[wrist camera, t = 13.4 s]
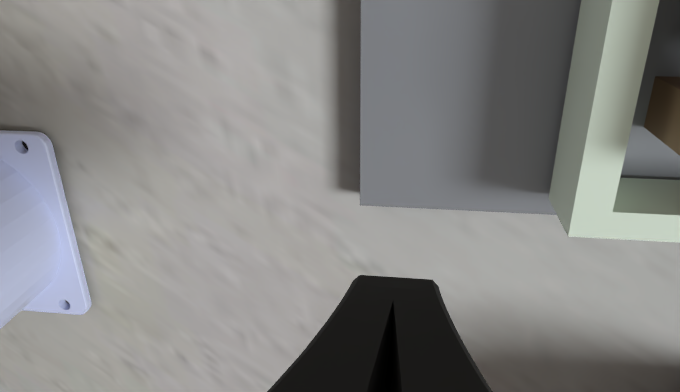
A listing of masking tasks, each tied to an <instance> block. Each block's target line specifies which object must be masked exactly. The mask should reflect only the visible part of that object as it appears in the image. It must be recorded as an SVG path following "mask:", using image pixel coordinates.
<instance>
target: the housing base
mask: <svg viewBox="0 0 680 392" xmlns="http://www.w3.org/2000/svg"><path fill="white" fill-rule="evenodd" d="M580 5H581V0H361V77H360V205H365V206H386V207H407V208H427V209H448V210H469V211H489V212H510V213H531V214H551V215H557V214H556V212H555V210H554V208H553V206H552V204H551V202H550V200H549V193H550V187H551V181H552V175H553V169H554V163H555V157H556V151H557V144H558V138H559V132H560V126H561V120H562V114H563V108H564V102H565V96H566V90H567V84H568V78H569V72H570V66H571V60H572V53H573V47H574V41H575V35H576V29H577V23H578V17H579V11H580ZM655 76H665V77H680V0H659V5H658V9H657V14H656V18H655V23H654V27H653V32H652V36H651V41H650V45H649V50H648V54H647V59H646V63H645V68H644V72H643V77H642V81H641V86H640V90H639V95H638V99H637V104H636V108H635V113H634V117H633V122H632V126H631V131H630V135H629V140H628V144H627V149H626V153H625V158H624V162H623V167H622V171H621V176H620V178H640V179H665V180H680V155H678V154H677V153H676V152H674V151H673V150H672V149H671V148H669V147H668V146H667V145H666V144H664V143H663V142H662V141H661V140H659V139H658V138H657V137H656V136H654V135H653V134H652V133H651V132H649V131H648V130H647V129H646V128H644V123H645V119H646V114H647V110H648V106H649V101H650V97H651V92H652V88H653V84H654V79H655Z"/></svg>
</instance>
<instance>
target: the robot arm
mask: <svg viewBox="0 0 680 392" xmlns="http://www.w3.org/2000/svg"><path fill="white" fill-rule="evenodd" d="M22 141H24V142H25V143H26V144H27V146H28V150H27V149H26V148H25V147H24V146H23V144H22ZM65 300H66V301H68V302H69V304H68V303H67V302H66V301H65ZM90 307H91V298H90V294H89V290H88V286H87V282H86V278H85V274H84V270H83V266H82V262H81V258H80V254H79V250H78V246H77V242H76V238H75V234H74V230H73V226H72V222H71V218H70V214H69V209H68V205H67V201H66V197H65V193H64V189H63V185H62V181H61V177H60V173H59V169H58V165H57V161H56V157H55V153H54V149H53V145H52V143H51V140H50V139H49V138H48V137H47V136H46V135H45V134H43V133H41V132H35V131H5V130H0V329H1V328H2V327H3V326H4V325H5V324H6V323H8V322H9V321H10V320H11V319H12V318H13V317H14V316H15V315H16V314H18V313H19V312H20V311H21V310H25V311H38V312H50V313H63V314H75V315H82V314H84V313H86V312H87V311H88V310H89V309H90ZM267 392H492V391H491V389H490V387H489V386H488V384H487V383H486V381H485V379H484V378H483V376H482V375H481V373H480V371H479V370H478V368H477V366H476V364H475V363H474V361H473V359H472V357H471V356H470V354H469V352H468V350H467V349H466V347H465V345H464V343H463V342H462V340H461V338H460V336H459V334H458V332H457V330H456V328H455V326H454V324H453V322H452V320H451V318H450V316H449V313H448V311H447V309H446V307H445V304H444V302H443V299H442V297H441V294H440V291H439V287H438V285H437V284H436V283H435V282H434V281H433V280H427V279H412V278H396V277H381V276H366V275H360V276H358V277H357V278H356V279H354V280H353V282H352V284H351V286H350V287H349V289H348V291H347V292H346V294H345V296H344V297H343V299H342V300H341V302H340V303H339V305H338V306H337V308H336V309H335V311H334V312H333V313H332V315H331V316H330V318H329V319H328V321H327V322H326V323H325V324H324V326H323V327H322V328H321V330H320V331H319V332H318V333H317V335H316V336H315V337H314V339H313V340H312V341H311V342H310V344H309V345H308V346H307V348H306V349H305V350H304V351H303V352H302V354H301V355H300V356H299V357H298V358H297V359H296V360H295V362H294V363H293V364H292V365H291V366H290V367H289V368H288V369H287V370H286V372H285V373H284V374H283V375H282V376H281V377H280V378H279V379H278V381H277V382H276V383H275V384H274V385H273V386H272V387H271V388H270V389H269V390H268V391H267Z"/></svg>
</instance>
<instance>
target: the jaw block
mask: <svg viewBox="0 0 680 392" xmlns="http://www.w3.org/2000/svg"><path fill="white" fill-rule="evenodd" d="M644 128H646V129H647V130H648V131H649V132H651V133H652V134H653V135H654V136H656V137H657V138H658V139H659V140H661V141H662V142H663V143H664V144H666V145H667V146H668V147H669V148H671V149H672V150H673V151H674V152H676V153H677V154H678V155H680V77H665V76H655V79H654V84H653V88H652V92H651V97H650V101H649V106H648V110H647V114H646V119H645V123H644Z"/></svg>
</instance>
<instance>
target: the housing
mask: <svg viewBox="0 0 680 392" xmlns="http://www.w3.org/2000/svg"><path fill="white" fill-rule="evenodd" d="M658 5H659V0H581V5H580V11H579V17H578V23H577V29H576V35H575V41H574V47H573V53H572V60H571V66H570V72H569V78H568V84H567V90H566V96H565V102H564V108H563V114H562V120H561V126H560V132H559V138H558V144H557V151H556V157H555V163H554V169H553V175H552V181H551V187H550V193H549V200H550V202H551V204H552V206H553V208H554V210H555V212H556V214H557V216H558V218H559V220H560V222H561V224H562V226H563V228H564V230H565V231H566V233H567V235H568V237H586V238H605V239H624V240H642V241H661V242H680V180H665V179H640V178H620V176H621V171H622V167H623V162H624V158H625V153H626V149H627V144H628V140H629V135H630V131H631V126H632V122H633V117H634V113H635V108H636V104H637V99H638V95H639V90H640V86H641V81H642V77H643V72H644V68H645V63H646V59H647V54H648V50H649V45H650V41H651V36H652V32H653V27H654V23H655V18H656V14H657V9H658Z"/></svg>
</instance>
